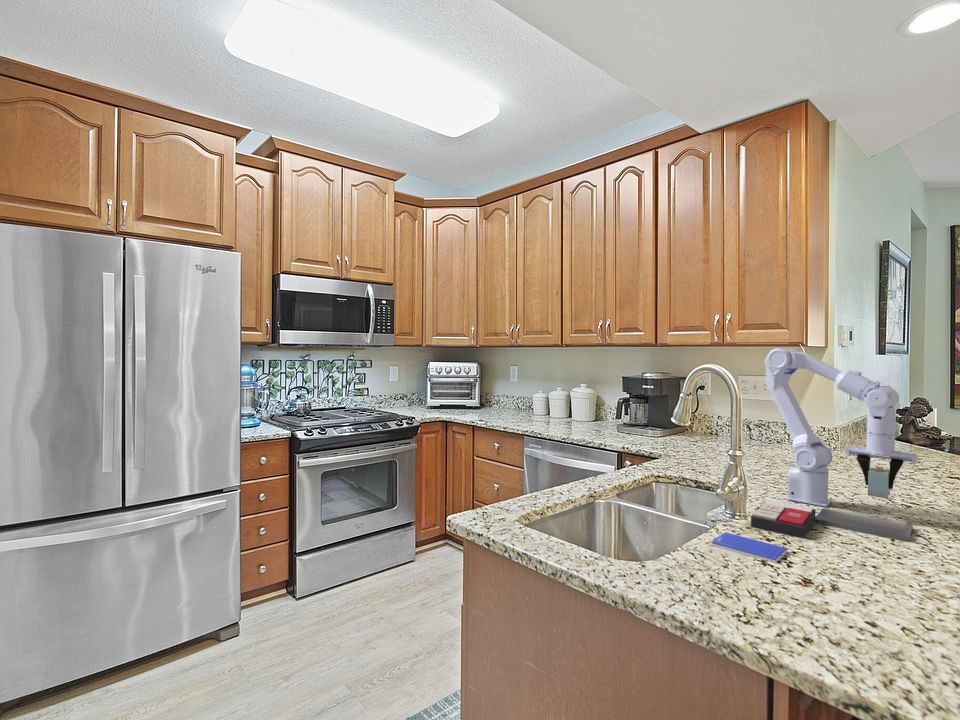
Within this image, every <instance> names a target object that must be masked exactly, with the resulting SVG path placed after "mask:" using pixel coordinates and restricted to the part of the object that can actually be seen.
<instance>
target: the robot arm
mask: <svg viewBox="0 0 960 720" xmlns="http://www.w3.org/2000/svg"><path fill="white" fill-rule="evenodd" d="M763 363H764V365H765V384H766V386H767V389H768V391H769V393H770V395H771V397H772V399H773V401H774V403H775V405H776V407H777V409H778V411H779V413H780V415H781V417H782V420H783V421H784V423H785V426H786V427H787V430H788V431H789V434H790V436H791V438H792V440H793V441H792V444H791V448H792V450H793V453H794V458H793V459H794V463H795V464H796V466H797V467H793V466H791V467H790V468H789V469H788V474H787V498H786V500H787V501H793V502H798V503H802V504H809V505H814V506H821V507H826V508H828V506H829V505H830V504H831V503H832V501H833V500H832V499H831V498H829V473H830V472H829V468H828V466H829V465H830V464H831V463H832V461H833V453H832V451H831V449H829V447H828V446H826V445H825V444H824V443H823V441H822V439H821V438H820V437H818V436H817V435H816V434H815V433H814V432H813V430H812V428H811V425H810V424H809V422H808V419H807V418H806V416H805V414H804V412H803V410H802V408H801V406H800V404H799V402H798V401H797V398H796V396H795V395H794V392H793V390H792V389H791V386H790V385H789V382H790V379H791V377H792V375H793V374H795V372H796V371H798V370H799V369H801V370H802V369H805V370H807V371H810V372H812V373H815V374H817V375H819V376H822V377H824V378H825V379H828V380H830V381H832V382H834V383H835V385H836V388H837V389H838V390H839V391H841V392H844V393H846V394H847V395H850V397H851V396H852V397H853V398H856V399H858V400H859V401H861V402H864V404H865V405H866V406H867V416H866V443H865V445H866V447H859V446H849V445H848V446H844V455H848V456H850V455H852V456H856V460H857V463H858V465H859V467H860V469H861V471H862V474H863V477H864V481H865V485H866V486H868V471H869V470H870V468H871V458H876V459H885V460H890V461H889V470H890V478H889V489H890V490H892V489H893V487H894V482H895V479H896V477H897V474H898V472H899V470H900V469H901V468H902V466H903V464H904V463H905V462H909V463H912V464H913V463H914V464H917V463H918V457H919V456H918V454H916V453H909V452H904V451H896V450H895V448H896V447H895V445H896V418H897V417H896V406H897V405H898V403H899V401H900V395H899V393H898V392H897V390H896V389H894V388H892V386H889V385H881V384H882V383H881V381H878V380H875V381H874V380H871V379H870V378H868V377H865V376H864V375H862V372H860V371H858V370H855V371H853V370H846V371H841V370H840V369H838V368H836V367H834V366H832V365H830V364H828V363H827V362H824V361H823V360H821V359H818V358H816V356H813V355H811V354H809V353H807V352H804V351H800V350H798V349H796V348H781V347H780V348H779V347H778V348H776V347H775V348H773V349H772V350H770V351H769V352H768V353H767V356H766V358H765V359H764V362H763Z"/></svg>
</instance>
